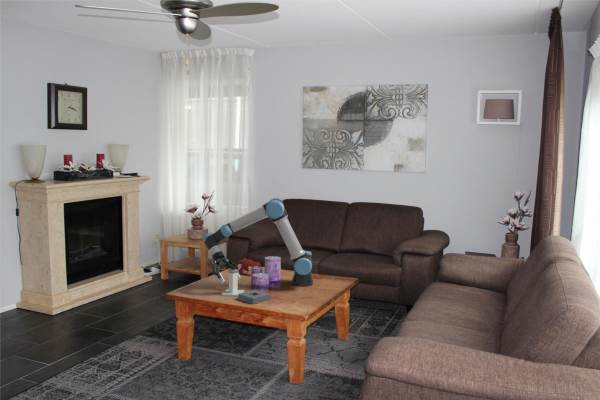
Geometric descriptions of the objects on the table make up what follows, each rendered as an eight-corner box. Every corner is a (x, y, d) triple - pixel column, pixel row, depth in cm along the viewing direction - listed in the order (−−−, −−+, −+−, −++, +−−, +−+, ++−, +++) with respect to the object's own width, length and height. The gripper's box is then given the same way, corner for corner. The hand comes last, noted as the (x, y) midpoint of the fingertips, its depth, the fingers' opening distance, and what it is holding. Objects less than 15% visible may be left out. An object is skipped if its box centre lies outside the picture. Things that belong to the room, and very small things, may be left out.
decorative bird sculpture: (255, 283, 384) (266, 266, 389) (247, 276, 379) (259, 259, 384) (234, 275, 405) (245, 260, 411) (226, 268, 400) (238, 253, 406)
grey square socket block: (254, 295, 339) (254, 289, 339) (269, 299, 330) (270, 294, 329) (238, 299, 329) (238, 293, 328) (253, 304, 319) (253, 298, 319)
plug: (233, 290, 344) (233, 269, 343) (238, 292, 341) (238, 270, 340) (228, 292, 341) (228, 270, 339) (232, 293, 338) (232, 272, 336)
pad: (244, 291, 346) (244, 290, 346) (239, 296, 334) (239, 295, 334) (226, 290, 348) (226, 289, 348) (221, 295, 336) (221, 294, 336)
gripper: (228, 254, 360) (243, 280, 352) (199, 260, 342) (213, 287, 334) (233, 248, 356) (248, 274, 348) (204, 253, 338) (219, 280, 330)
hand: (231, 280), depth 341 cm, fingers open, 13 cm apart
